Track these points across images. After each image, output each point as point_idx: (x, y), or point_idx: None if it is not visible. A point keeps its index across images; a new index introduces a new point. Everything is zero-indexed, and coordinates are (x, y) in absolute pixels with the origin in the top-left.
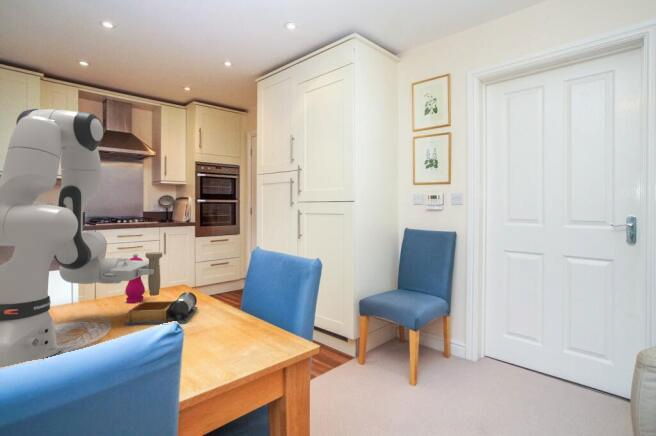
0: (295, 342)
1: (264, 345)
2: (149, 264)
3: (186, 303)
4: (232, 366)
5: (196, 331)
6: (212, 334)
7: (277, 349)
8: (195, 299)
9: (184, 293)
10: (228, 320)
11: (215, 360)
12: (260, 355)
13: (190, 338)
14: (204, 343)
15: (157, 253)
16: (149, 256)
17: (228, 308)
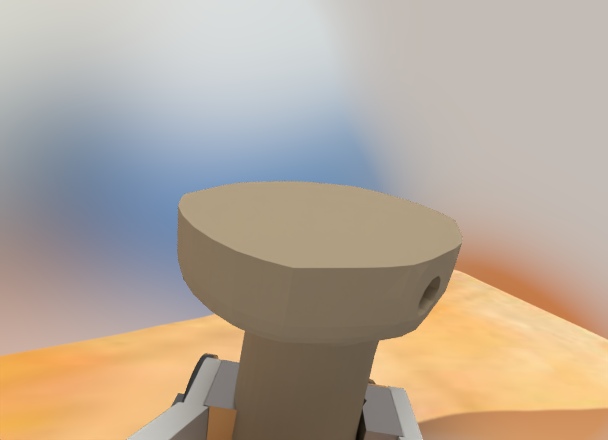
0: None
1: (474, 302)
2: (356, 394)
3: None
4: (582, 343)
5: (446, 396)
6: (454, 362)
7: (482, 294)
8: None
9: None
10: None
11: (582, 362)
12: (516, 312)
13: (506, 409)
14: (519, 378)
15: (387, 201)
16: (447, 277)
17: (219, 319)
